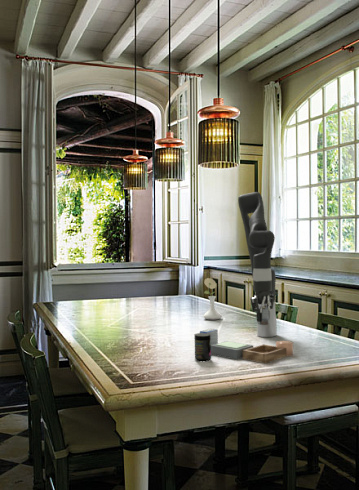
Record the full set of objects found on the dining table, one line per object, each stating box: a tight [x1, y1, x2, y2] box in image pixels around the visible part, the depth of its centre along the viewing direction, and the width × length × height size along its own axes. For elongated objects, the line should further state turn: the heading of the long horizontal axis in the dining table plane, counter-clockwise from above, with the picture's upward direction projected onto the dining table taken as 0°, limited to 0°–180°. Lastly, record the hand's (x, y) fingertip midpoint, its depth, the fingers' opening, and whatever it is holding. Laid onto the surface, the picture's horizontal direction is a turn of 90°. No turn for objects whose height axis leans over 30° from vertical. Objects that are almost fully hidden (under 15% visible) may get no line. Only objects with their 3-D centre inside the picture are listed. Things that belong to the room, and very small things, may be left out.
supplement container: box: [194, 332, 212, 363], centre depth 207 cm, size 7×7×10 cm
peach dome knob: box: [275, 340, 294, 357], centre depth 213 cm, size 7×7×5 cm
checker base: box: [211, 340, 254, 360], centre depth 216 cm, size 11×14×4 cm
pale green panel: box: [216, 340, 249, 349], centre depth 215 cm, size 8×11×1 cm
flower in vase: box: [202, 277, 223, 321], centre depth 307 cm, size 13×11×25 cm
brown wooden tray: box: [242, 343, 287, 364], centre depth 208 cm, size 11×15×4 cm
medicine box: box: [199, 328, 219, 345], centre depth 226 cm, size 8×4×9 cm, turn 141°
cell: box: [258, 307, 269, 325], centre depth 208 cm, size 4×4×7 cm
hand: (263, 320), depth 208 cm, fingers closed on cell, 4 cm apart
